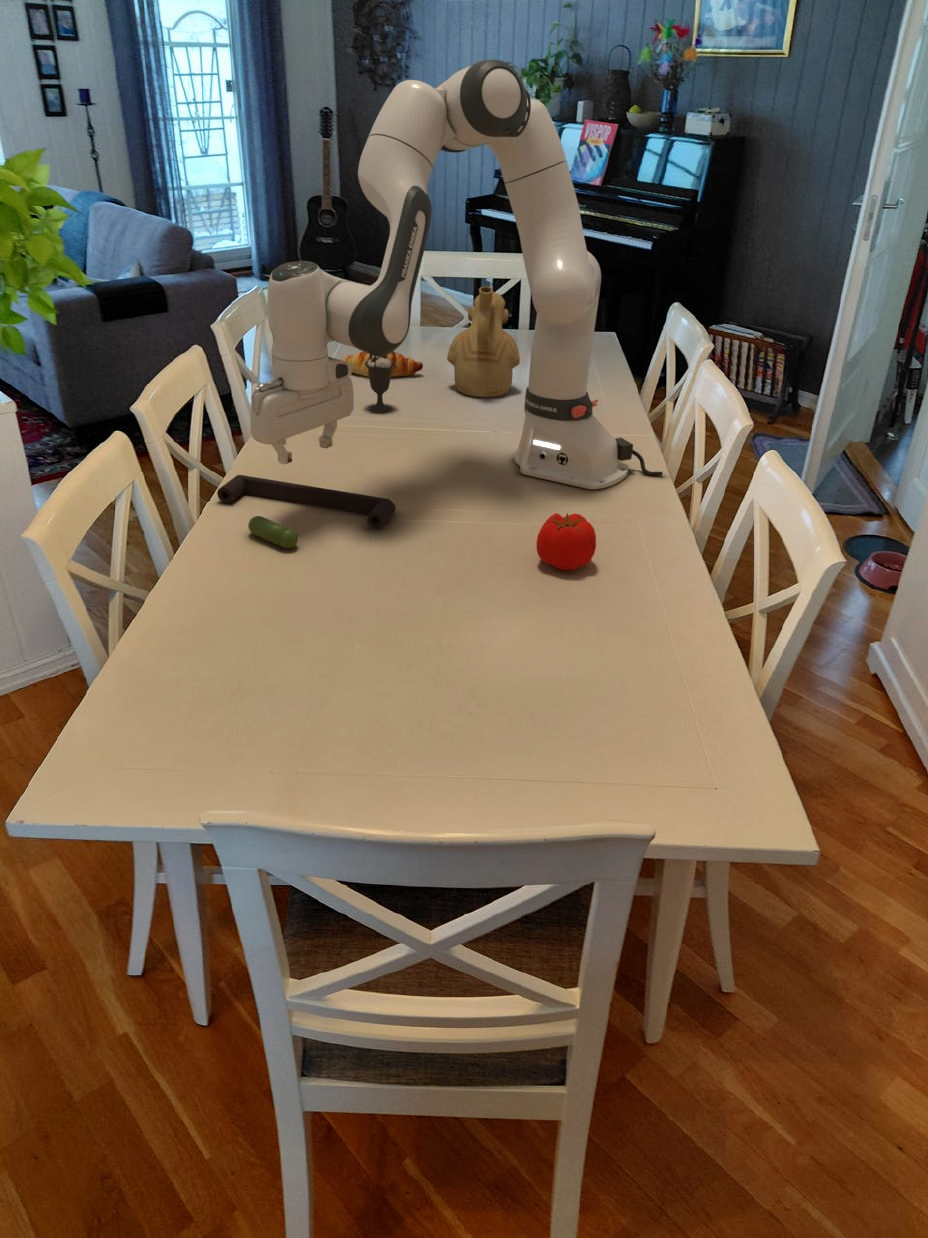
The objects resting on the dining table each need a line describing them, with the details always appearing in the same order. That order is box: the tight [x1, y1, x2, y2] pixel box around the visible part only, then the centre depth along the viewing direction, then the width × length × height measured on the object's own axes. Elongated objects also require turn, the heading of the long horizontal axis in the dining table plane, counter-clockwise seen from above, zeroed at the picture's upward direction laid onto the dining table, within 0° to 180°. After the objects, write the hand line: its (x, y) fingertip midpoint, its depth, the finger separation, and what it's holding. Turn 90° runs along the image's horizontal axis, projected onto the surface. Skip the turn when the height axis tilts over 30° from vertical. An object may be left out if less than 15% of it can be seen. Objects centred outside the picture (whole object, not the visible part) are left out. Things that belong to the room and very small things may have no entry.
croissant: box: [338, 350, 424, 378], centre depth 228 cm, size 21×10×8 cm, turn 87°
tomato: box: [535, 512, 597, 571], centre depth 145 cm, size 9×9×8 cm
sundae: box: [364, 354, 396, 414], centre depth 203 cm, size 7×7×15 cm
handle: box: [216, 474, 396, 529], centre depth 160 cm, size 30×6×3 cm, turn 74°
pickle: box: [247, 515, 299, 550], centre depth 149 cm, size 10×3×3 cm, turn 53°
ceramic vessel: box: [446, 286, 521, 398], centre depth 215 cm, size 17×20×25 cm
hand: (306, 454), depth 155 cm, fingers open, 8 cm apart
